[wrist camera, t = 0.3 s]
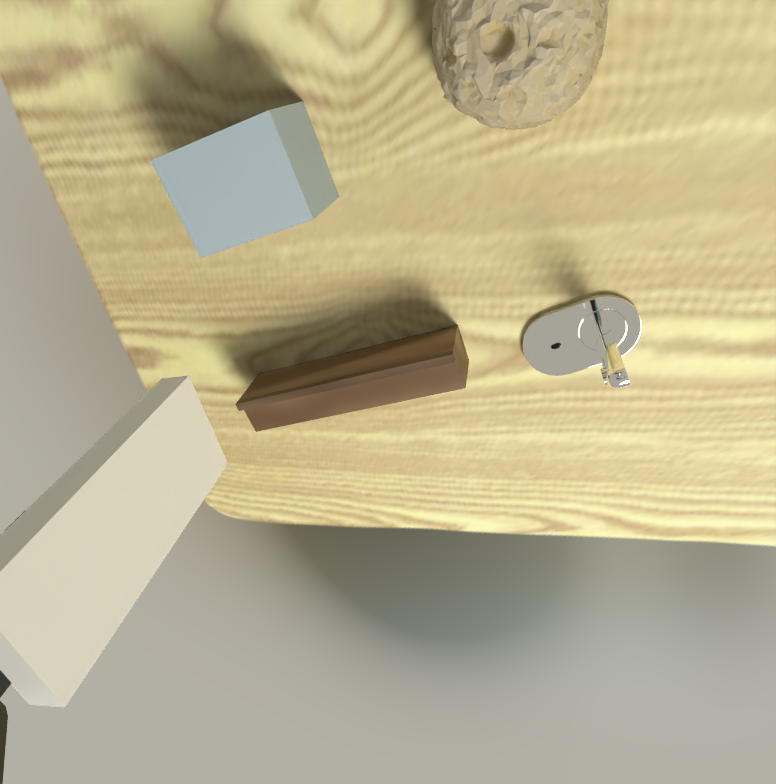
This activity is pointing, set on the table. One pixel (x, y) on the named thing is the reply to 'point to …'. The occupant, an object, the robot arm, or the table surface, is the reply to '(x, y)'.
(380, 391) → the brown wooden bar
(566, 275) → the table surface
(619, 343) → the metal post stand
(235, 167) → the block
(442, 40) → the sponge
